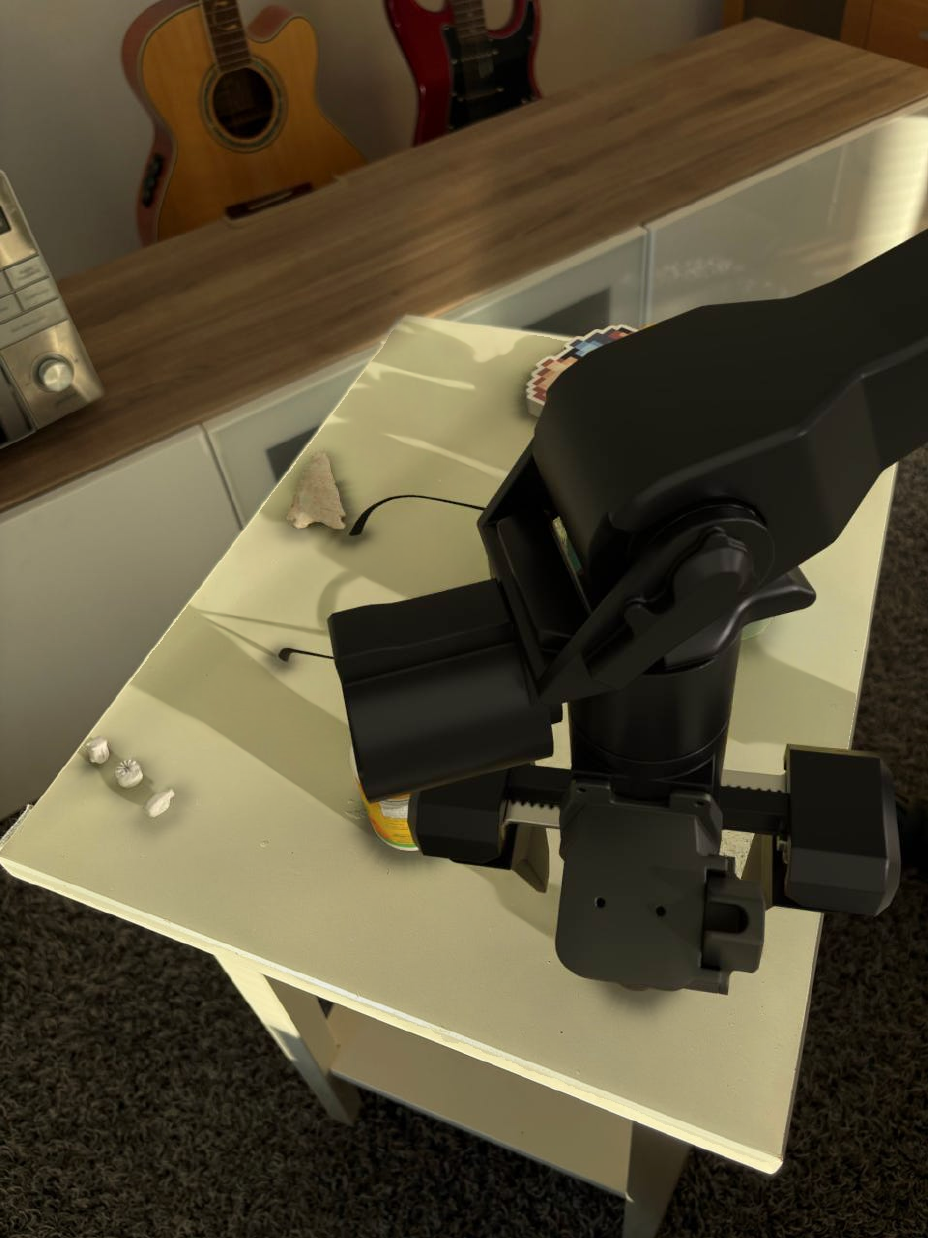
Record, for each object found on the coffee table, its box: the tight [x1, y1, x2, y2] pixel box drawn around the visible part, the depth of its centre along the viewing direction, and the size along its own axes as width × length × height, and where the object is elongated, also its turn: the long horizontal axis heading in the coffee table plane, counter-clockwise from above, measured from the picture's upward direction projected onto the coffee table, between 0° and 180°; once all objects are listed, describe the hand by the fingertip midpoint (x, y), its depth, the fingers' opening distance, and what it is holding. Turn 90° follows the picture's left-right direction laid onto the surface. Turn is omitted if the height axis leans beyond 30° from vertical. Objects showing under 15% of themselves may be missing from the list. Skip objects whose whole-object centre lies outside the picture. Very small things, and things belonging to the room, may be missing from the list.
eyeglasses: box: [278, 494, 486, 663], centre depth 69 cm, size 16×16×4 cm
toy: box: [525, 323, 640, 418], centre depth 86 cm, size 14×2×10 cm
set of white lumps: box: [85, 735, 176, 818], centre depth 62 cm, size 8×2×2 cm, turn 52°
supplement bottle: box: [349, 744, 419, 852], centre depth 55 cm, size 5×5×10 cm
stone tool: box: [285, 451, 347, 530], centre depth 80 cm, size 5×1×10 cm
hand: (640, 897), depth 45 cm, fingers open, 9 cm apart
